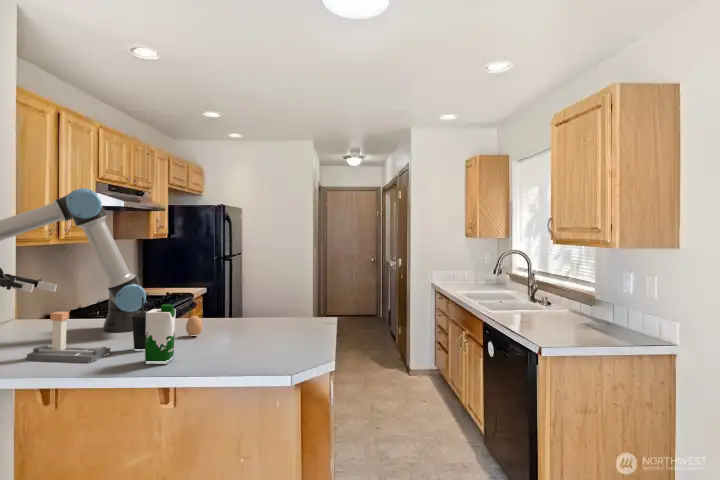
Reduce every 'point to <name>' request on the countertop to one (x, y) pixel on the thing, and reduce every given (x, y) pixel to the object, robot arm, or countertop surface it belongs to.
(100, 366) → the countertop surface
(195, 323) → the egg
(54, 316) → the fader
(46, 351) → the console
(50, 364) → the countertop surface
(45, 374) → the countertop surface
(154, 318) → the milk carton
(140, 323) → the drinking cup
